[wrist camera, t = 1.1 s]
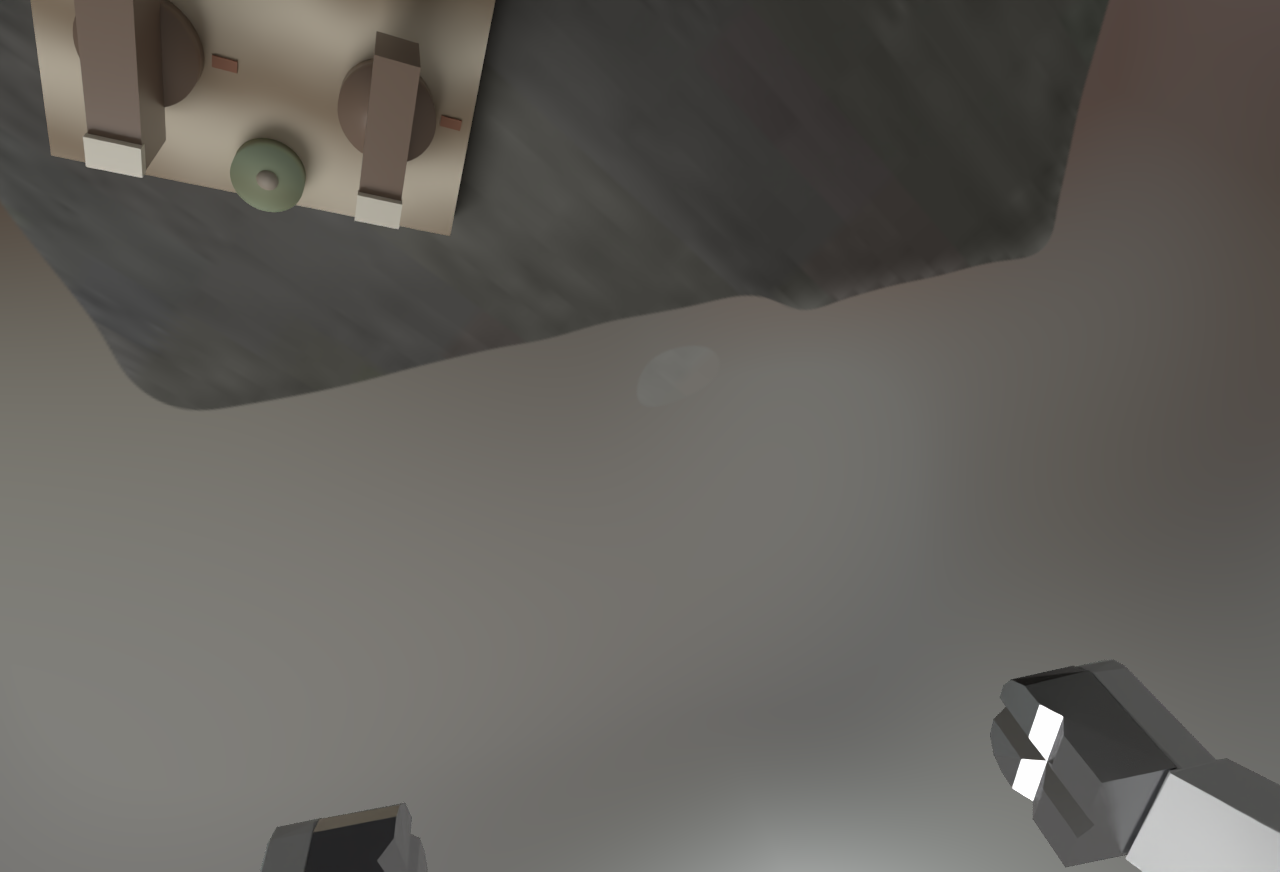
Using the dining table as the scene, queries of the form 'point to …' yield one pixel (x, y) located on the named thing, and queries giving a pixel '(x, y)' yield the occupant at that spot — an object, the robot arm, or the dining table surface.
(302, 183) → the control panel
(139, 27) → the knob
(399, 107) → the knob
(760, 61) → the dining table surface
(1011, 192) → the dining table surface
